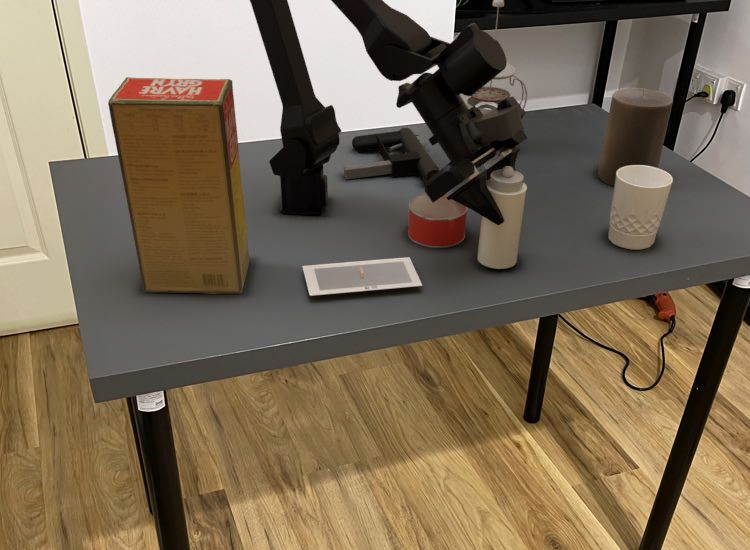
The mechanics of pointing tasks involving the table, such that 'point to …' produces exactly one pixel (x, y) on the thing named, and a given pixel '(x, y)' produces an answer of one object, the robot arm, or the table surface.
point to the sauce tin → (436, 222)
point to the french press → (491, 92)
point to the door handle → (393, 156)
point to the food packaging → (182, 183)
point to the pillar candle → (634, 130)
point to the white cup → (638, 205)
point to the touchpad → (360, 276)
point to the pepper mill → (504, 239)
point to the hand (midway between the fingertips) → (511, 215)
